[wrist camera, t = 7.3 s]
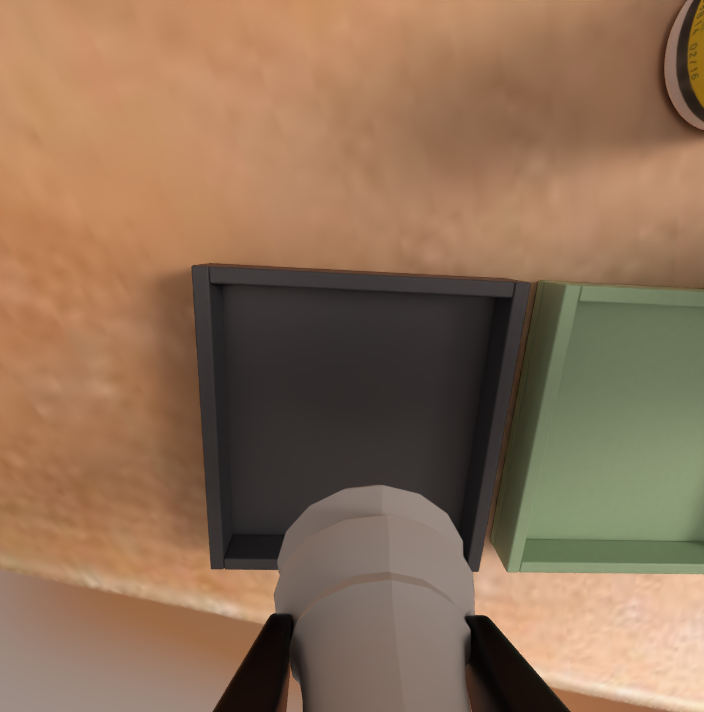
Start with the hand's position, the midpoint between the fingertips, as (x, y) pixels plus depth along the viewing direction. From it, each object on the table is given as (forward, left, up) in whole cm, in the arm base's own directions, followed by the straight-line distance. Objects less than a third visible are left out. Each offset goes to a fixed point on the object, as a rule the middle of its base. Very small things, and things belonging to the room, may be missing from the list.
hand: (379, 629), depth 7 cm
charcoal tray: (0, 0, -10) cm, 10 cm away
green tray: (-13, 0, -10) cm, 17 cm away
